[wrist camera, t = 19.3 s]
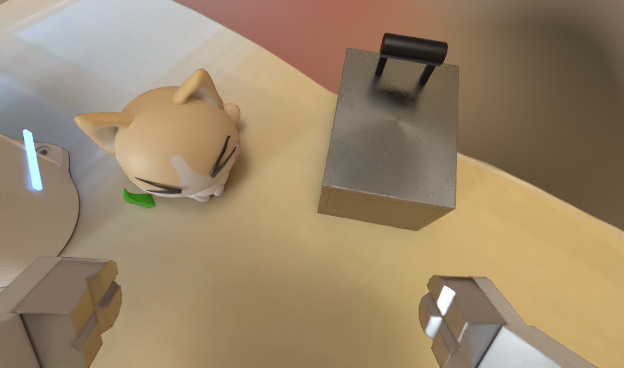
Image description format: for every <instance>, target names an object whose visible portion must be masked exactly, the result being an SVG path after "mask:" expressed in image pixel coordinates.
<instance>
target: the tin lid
mask: <svg viewBox="0 0 624 368" xmlns="http://www.w3.org/2000/svg"><path fill="white" fill-rule="evenodd" d="M447 49H448V44H447V43H446V42H441V41H434V40H428V39H422V38H416V37H410V36H403V35H397V34H391V33H385V34H384V36H383V39H382V44H381V48H380V53H376V52H369V51H363V50H357V49H351V48H347V52H346V58H345V63H344V68H343V74H342V80H341V85H340V90H339V96H338V102H337V107H336V113H335V118H334V124H333V129H332V135H331V141H330V146H329V152H328V157H327V163H326V168H325V174H324V179H323V185H322V188H325V189H331V190H336V191H342V192H347V193H353V194H358V195H364V196H370V197H375V198H381V199H386V200H392V201H397V202H403V203H409V204H414V205H420V206H425V207H431V208H436V209H442V210H448V211H453V210H454V209H455V205H456V165H457V126H458V125H457V124H458V87H459V66H456V65H449V64H443V62H444V60H445V57H446V54H447Z"/></svg>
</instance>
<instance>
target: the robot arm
mask: <svg viewBox="0 0 624 368" xmlns="http://www.w3.org/2000/svg"><path fill="white" fill-rule="evenodd" d="M23 134H24V140H19V139H13V138H8V137H6V136H4V135H2V134H0V287H4V286H7V287H6V288H5V289H4V290H3V291H2V292H1V293H0V368H89V367H90V366H91V364H92V362H93V360H94V358H95V357H96V355H97V353H98V351H99V350H100V348H101V346H102V344H103V343H102V339H101V334H102V333H104V332H105V331H107V330H108V329H110V328H111V327H112V326H113V324H114V322H115V320H116V318H117V317H118V314H119V310H120V307H121V302H122V292H121V286H119V285H118V284H117V283H116V282H115V281H114V279H115V277H116V276H117V274H118V270H117V265H116V262H114V261H112V260H102V259H88V258H73V257H66V258H65V257H56V256H57V255H58V254H59V253H60V252H61V250H62V249H63V248H64V246H65V245H66V243H67V242H68V240H69V238H70V237H71V235H72V233H73V230H74V228H75V225H76V222H77V218H78V212H79V198H78V193H77V189H76V187H75V185H74V183H73V181H72V179H71V177H70V174H69V156H68V152H67V151H66V150H65V149H64V148H61V147H59V146H56V145H51V144H45V143H38V142H33V138H32V133H31V132H29V131H28V130H23ZM46 153H47V154H46ZM45 154H46V155H45ZM44 155H45V156H44ZM427 287H428V290H429V293H427V294H426V295H425V296H423V297H422V299H421V302H420V305H419V320H420V324H421V327H422V329H423V331H424V333H425V334H426V335H427V336H428V337H430V338H431V339H432V340H433V343H432V347H431V349H432V351H433V353H434V355H435V358H436V360H437V362H438V364H439V366H440V368H597V367H596V366H594V365H593V364H591V363H590V362H588V361H587V360H585V359H583V358H582V357H580V356H579V355H577V354H576V353H574V352H573V351H571V350H569V349H568V348H566V347H565V346H563V345H562V344H560V343H559V342H557V341H556V340H554V339H552V338H551V337H549V336H548V335H546V334H545V333H543V332H542V331H540V330H539V329H537V328H535V327H534V326H527V324H526V323H525V322H524V321H523V319H522V318H521V317H520V316H519V314H518V313H517V312H516V311H515V309H514V308H513V307H512V306H511V305H510V303H509V302H508V301H507V300H506V298H505V297H504V296H503V295H502V293H501V292H500V291H499V290H498V288H497V287H496V286H495V285H494V284H493V282H492V281H491V280H490V279H488V278H486V277H474V276H468V277H465V276H440V275H433V276H432V277H431V278H430V279H429V282H428V284H427Z"/></svg>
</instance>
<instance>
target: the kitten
mask: <svg viewBox="0 0 624 368" xmlns="http://www.w3.org/2000/svg"><path fill="white" fill-rule="evenodd" d="M239 118H240V109H239V107H238V106H237V105H236V104H234V103H228V104H226V105H225V106H223V102H222V100H221V98H220V96H219V94H218V93H217V91H216V88H215V86H214V83H213V81H212V79H211V77H210V75H209V74H208V72H207V71H206V70H205V69H198V70H196V71H195V72H194V73H193V74H192V75H191V76H190V77H189V78H188V79H187V80H186V81H185V82H184V83H183V84H182V85H181V87H177V86H170V87H161V88H157V89H153V90H150V91H148V92H145V93H143V94H141V95H140V96H138V97H136V98H135V99H134V100H132V101H131V102H130V103H129V104H128V105H127V106H126V107H125V108H124V110H123V111H122V112H121V113H114V112H102V113H87V114H78V115H76V116H75V119H74V120H75V122H76V124H77V125H78V126H79V127H80V129H81V130H82V131H83V132H84V133H85V134H87V135H88V136H89V137H90V138H91V139H92V140H94V141H95V142H96V143H97V144H98V145H99V146H100V147H101V148H102V149H103V150H104V151H105V152H107V153H109V154H111V155H113V156H116V158H117V160H118V163H119V164H120V166H121V168H122V170H123V171H124V172H125V174H126V175H127V176H128V178H129V179H130V180H131V181H132V182H133V183H134V184H135V185H136V186H138V187H139V188H140V189H142V190H144V191H145V192H148V193H150V194H131V193H129V192H127V191H126V190H125V189H124V188H123V191H122V194H123V197H124V199H125V200H126V202H129V203H131V204H137V205H142V206H145V207H147V208H150V207H154V206H155V203H154V201H153V198H152V196H151V194H153V195H156V196H161V197H185V196H187V197H191V198H194V199H195V200H198V201H201V202H206V201H208V200H209V198H210V195H211V194H214V195H216V196H219V195H221V194H222V192H223V190H224V184H225V182H226V181H227V179H228V176H229V170H230V169H231V167H232V166H233V165H234V163H235V161H236V159H237V157H238V155H239V151H240V138H239V134H238V131H237V129H236V127H235V126H236V124H237V123H238V121H239Z"/></svg>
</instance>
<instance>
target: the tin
mask: <svg viewBox="0 0 624 368" xmlns="http://www.w3.org/2000/svg"><path fill="white" fill-rule="evenodd" d="M449 212H451V211H448V210H442V209H436V208H431V207H425V206H420V205H414V204H409V203H403V202H397V201H392V200H386V199H381V198H375V197H370V196H364V195H358V194H353V193H347V192H342V191H336V190H331V189H325V188H322V191H321V197H320V202H319V208H318V213H321V214H327V215H332V216H338V217H343V218H349V219H354V220H360V221H365V222H371V223H376V224H382V225H387V226H393V227H398V228H403V229H409V230H414V231H418V230H420V229H422V228H423V227H425V226H427V225H428V224H430V223H432V222H434V221H435V220H437V219H439V218H441V217H442V216H444V215H446V214H448V213H449Z"/></svg>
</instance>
